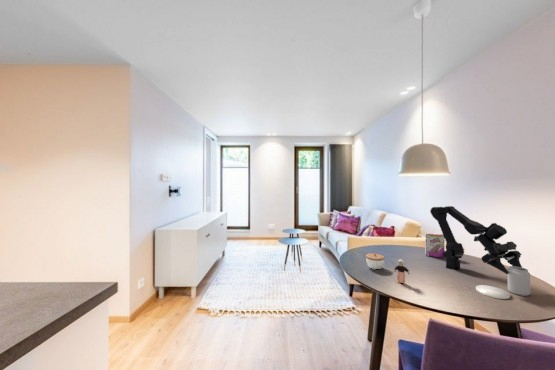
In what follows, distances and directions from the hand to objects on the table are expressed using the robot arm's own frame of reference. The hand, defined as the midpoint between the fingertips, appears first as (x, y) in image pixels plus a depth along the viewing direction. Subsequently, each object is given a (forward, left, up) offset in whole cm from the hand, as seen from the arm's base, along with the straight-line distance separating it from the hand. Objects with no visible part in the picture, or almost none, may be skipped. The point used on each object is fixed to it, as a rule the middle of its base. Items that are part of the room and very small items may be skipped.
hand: (515, 272), depth 110 cm
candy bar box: (-34, +42, -9) cm, 55 cm away
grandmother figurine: (-46, -20, -9) cm, 51 cm away
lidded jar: (-63, -6, -9) cm, 64 cm away
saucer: (-9, -8, -9) cm, 15 cm away
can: (+1, -1, -9) cm, 10 cm away
